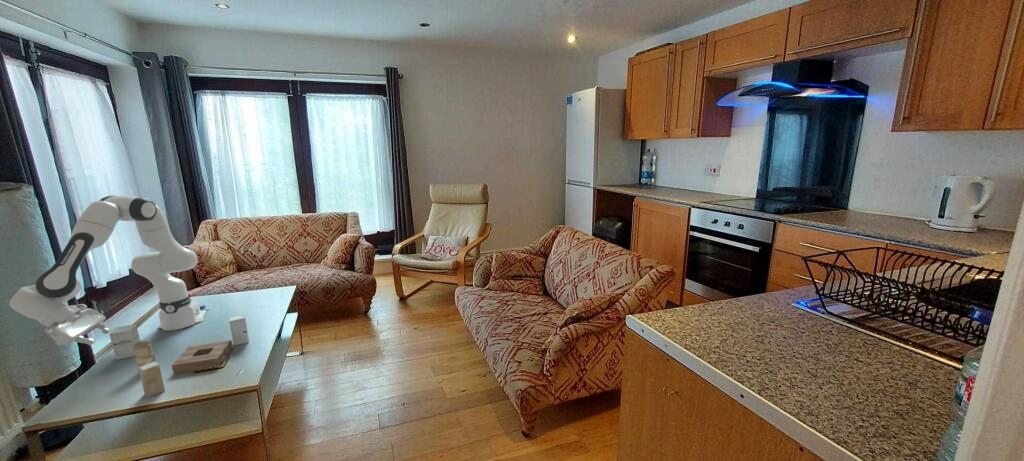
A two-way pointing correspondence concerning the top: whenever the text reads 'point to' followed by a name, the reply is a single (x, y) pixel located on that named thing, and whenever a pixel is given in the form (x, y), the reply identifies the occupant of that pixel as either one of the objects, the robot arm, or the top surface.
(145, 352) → the peg
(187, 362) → the square hole block
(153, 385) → the box
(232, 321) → the skincare box
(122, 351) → the supplement box
